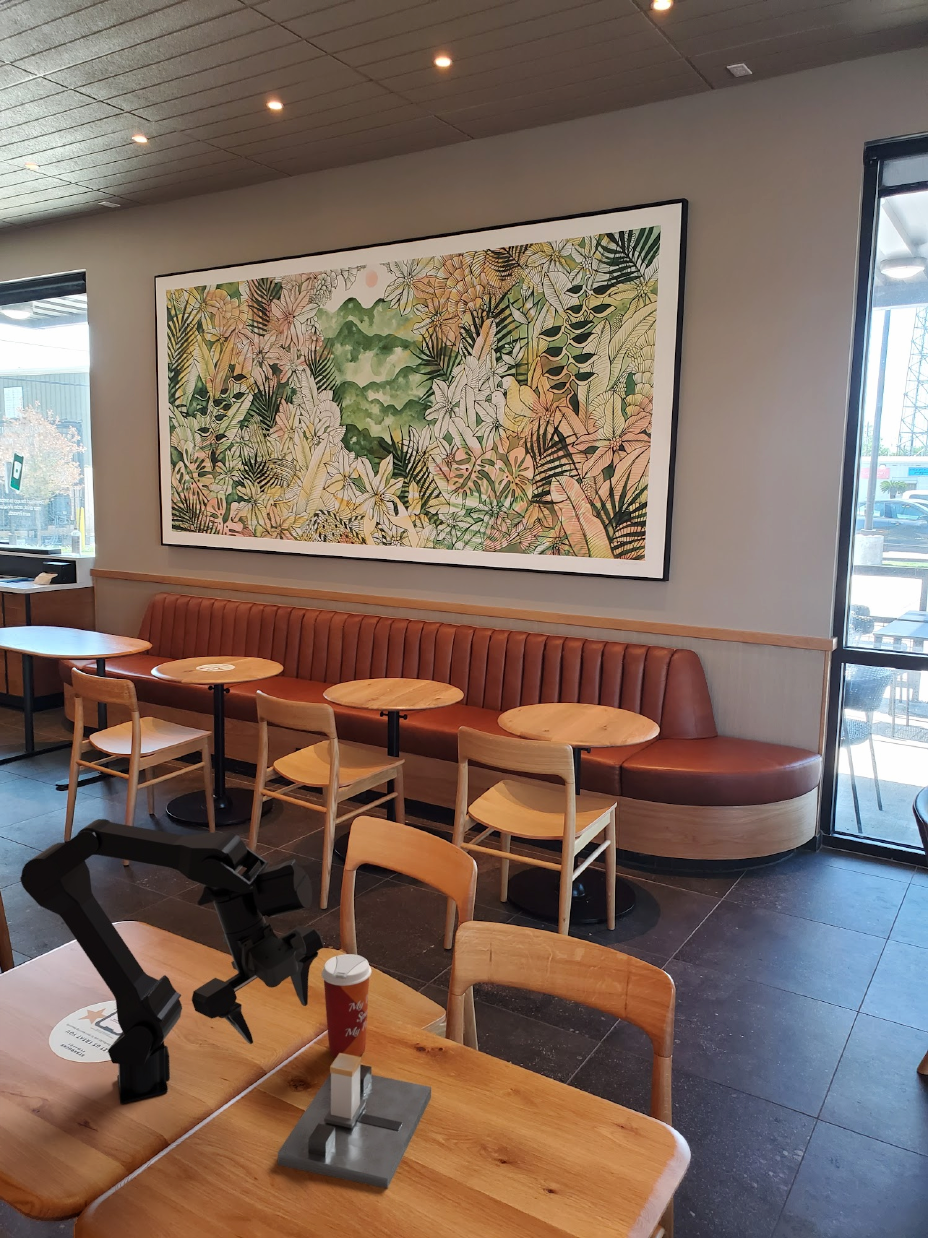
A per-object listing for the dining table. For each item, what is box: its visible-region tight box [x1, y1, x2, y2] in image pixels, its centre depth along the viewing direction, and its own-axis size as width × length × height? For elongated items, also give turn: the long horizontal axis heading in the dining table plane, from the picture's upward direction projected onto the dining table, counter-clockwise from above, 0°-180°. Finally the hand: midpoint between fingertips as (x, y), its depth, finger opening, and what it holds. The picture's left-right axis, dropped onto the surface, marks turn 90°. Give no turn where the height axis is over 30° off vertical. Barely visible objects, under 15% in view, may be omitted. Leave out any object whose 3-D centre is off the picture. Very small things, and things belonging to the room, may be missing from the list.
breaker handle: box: [324, 1053, 366, 1128], centre depth 120 cm, size 4×5×8 cm
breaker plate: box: [277, 1063, 432, 1189], centre depth 120 cm, size 15×18×4 cm
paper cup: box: [321, 953, 372, 1059], centre depth 137 cm, size 8×8×14 cm
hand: (278, 1023), depth 125 cm, fingers open, 9 cm apart
